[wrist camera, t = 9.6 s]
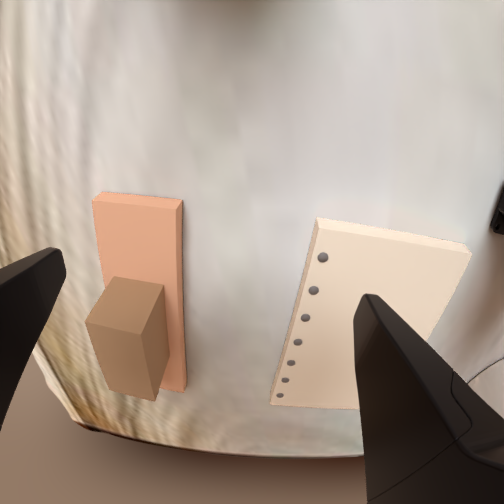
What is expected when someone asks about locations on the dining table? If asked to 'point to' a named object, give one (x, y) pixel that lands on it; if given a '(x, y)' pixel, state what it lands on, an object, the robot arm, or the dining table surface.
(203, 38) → the dining table surface
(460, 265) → the board
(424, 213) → the dining table surface
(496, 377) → the utensil holder
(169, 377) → the stub
